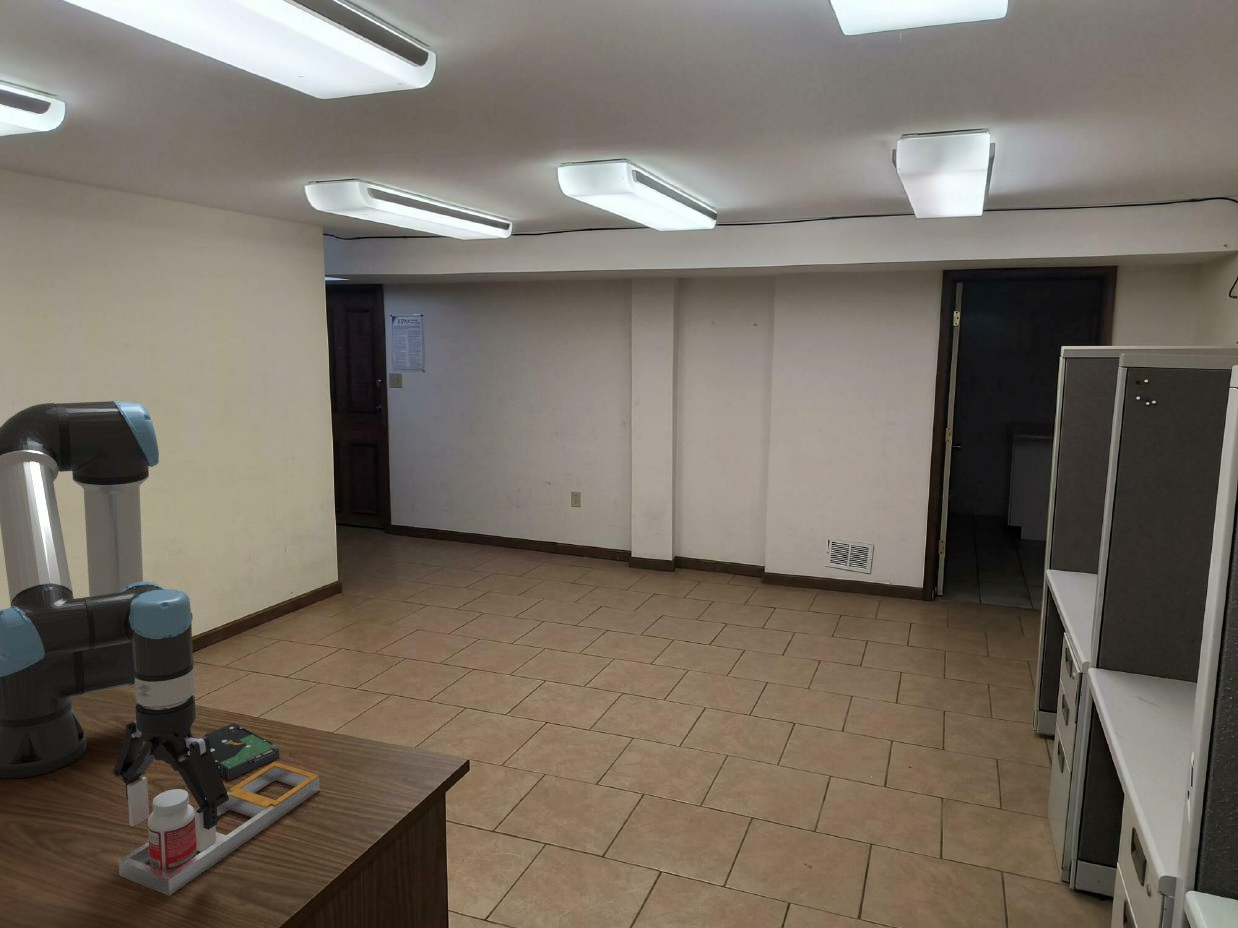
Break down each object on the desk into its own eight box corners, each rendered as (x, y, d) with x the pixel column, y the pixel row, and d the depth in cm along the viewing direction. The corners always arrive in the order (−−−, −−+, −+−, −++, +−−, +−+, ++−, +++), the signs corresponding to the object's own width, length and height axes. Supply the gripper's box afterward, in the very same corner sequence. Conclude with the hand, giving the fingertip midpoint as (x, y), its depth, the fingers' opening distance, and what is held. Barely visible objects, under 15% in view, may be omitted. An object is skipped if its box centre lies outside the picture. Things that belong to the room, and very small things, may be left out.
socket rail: (119, 875, 122) (118, 858, 122) (274, 775, 150) (274, 761, 149) (169, 895, 119) (168, 877, 118) (319, 789, 146) (319, 775, 146)
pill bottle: (204, 852, 128) (201, 786, 126) (185, 879, 122) (182, 809, 120) (163, 851, 128) (159, 785, 126) (141, 878, 122) (137, 809, 120)
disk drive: (182, 757, 156) (229, 783, 148) (181, 743, 155) (228, 768, 147) (234, 735, 164) (281, 758, 156) (233, 722, 164) (280, 744, 156)
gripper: (80, 690, 122) (89, 824, 125) (208, 729, 113) (214, 872, 116) (127, 671, 129) (135, 798, 132) (252, 706, 119) (256, 842, 123)
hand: (172, 833), depth 124 cm, fingers open, 13 cm apart
